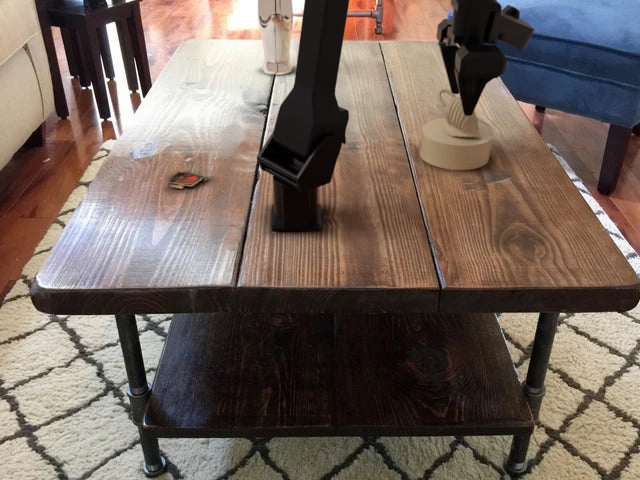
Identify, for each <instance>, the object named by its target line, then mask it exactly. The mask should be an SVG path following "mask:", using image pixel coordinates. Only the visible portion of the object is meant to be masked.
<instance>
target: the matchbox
mask: <svg viewBox="0 0 640 480" xmlns="http://www.w3.org/2000/svg"><path fill="white" fill-rule="evenodd" d="M203 179H204V180H203ZM208 179H209V177H206V175H205V174H200V173H193V172H190V171H188V172H186V171H185V172H183V171H182V172H181V171H178V172H176V173H175V174H174V175H172V176H171V177H170V179H169V180H168V183H171V184H169V187H171V188H172V189H180V190H182V189H184V187H194V186H195V185H196V184H198V183H199V182H200V181H202V180H203V181H204V182H205V181H207V180H208Z"/></svg>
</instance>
